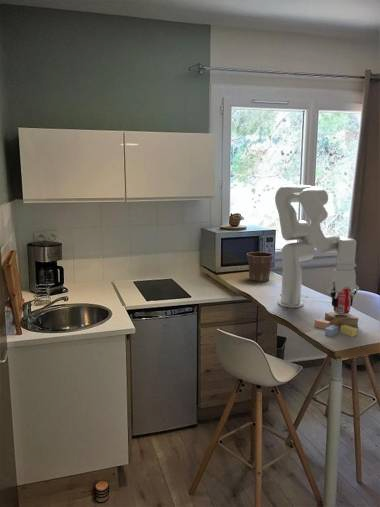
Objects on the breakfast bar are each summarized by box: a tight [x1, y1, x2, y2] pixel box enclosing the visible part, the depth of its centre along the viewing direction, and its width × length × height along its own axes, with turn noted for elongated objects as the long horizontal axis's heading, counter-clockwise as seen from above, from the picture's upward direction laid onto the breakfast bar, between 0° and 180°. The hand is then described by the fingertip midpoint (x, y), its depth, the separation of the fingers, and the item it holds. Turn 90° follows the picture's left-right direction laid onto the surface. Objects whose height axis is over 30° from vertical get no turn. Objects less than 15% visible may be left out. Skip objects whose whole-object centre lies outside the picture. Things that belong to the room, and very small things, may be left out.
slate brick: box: [324, 325, 339, 338], centre depth 187 cm, size 6×3×3 cm, turn 137°
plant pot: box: [246, 251, 274, 283], centre depth 275 cm, size 16×16×16 cm
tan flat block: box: [324, 311, 359, 330], centre depth 198 cm, size 10×10×4 cm
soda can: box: [332, 288, 351, 314], centre depth 197 cm, size 7×7×12 cm
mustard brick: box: [339, 325, 358, 337], centre depth 187 cm, size 6×3×3 cm, turn 32°
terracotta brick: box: [313, 318, 331, 330], centre depth 195 cm, size 6×3×3 cm, turn 47°
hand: (341, 305), depth 197 cm, fingers closed on soda can, 6 cm apart
